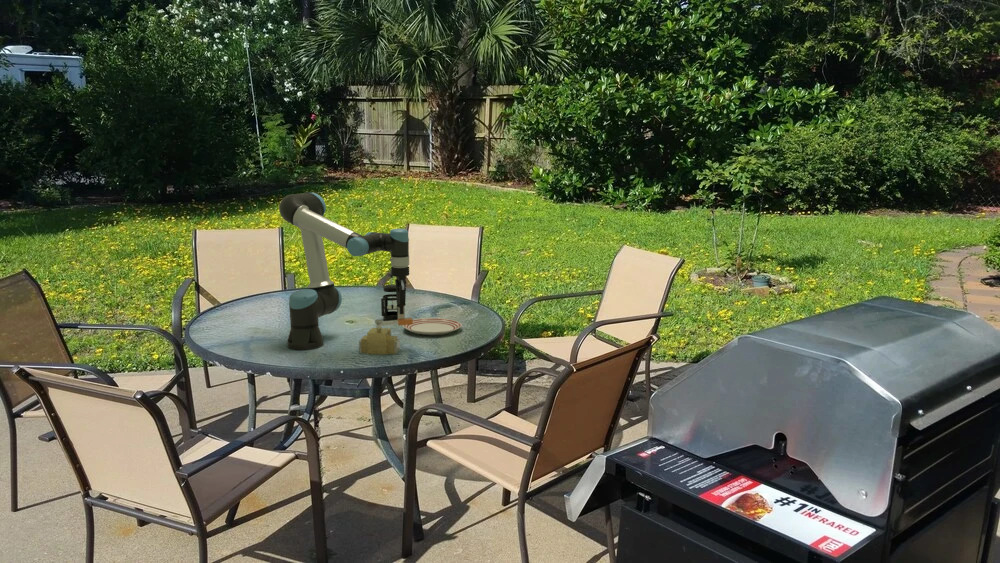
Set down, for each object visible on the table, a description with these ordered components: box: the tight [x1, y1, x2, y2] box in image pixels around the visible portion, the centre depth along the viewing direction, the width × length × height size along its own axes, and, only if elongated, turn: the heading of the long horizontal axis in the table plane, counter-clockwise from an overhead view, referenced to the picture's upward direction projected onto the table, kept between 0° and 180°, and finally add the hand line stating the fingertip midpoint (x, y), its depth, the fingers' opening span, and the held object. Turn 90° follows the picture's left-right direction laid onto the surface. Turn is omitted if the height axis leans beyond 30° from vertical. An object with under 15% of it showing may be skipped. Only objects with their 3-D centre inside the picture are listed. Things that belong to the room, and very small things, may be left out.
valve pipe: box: [358, 327, 401, 356], centre depth 308 cm, size 16×8×9 cm, turn 85°
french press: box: [380, 273, 398, 321], centre depth 359 cm, size 12×9×23 cm
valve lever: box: [374, 317, 414, 331], centre depth 309 cm, size 3×16×4 cm, turn 110°
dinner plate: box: [402, 317, 463, 336], centre depth 343 cm, size 27×27×3 cm
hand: (401, 320), depth 312 cm, fingers closed
